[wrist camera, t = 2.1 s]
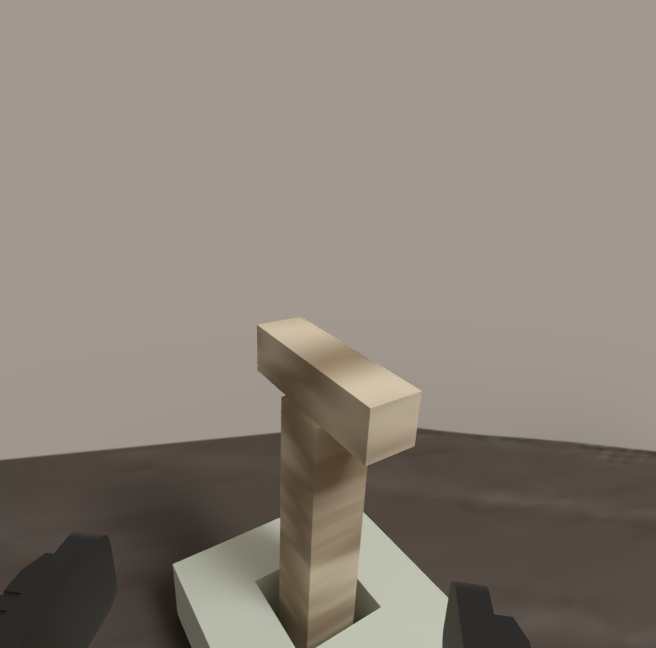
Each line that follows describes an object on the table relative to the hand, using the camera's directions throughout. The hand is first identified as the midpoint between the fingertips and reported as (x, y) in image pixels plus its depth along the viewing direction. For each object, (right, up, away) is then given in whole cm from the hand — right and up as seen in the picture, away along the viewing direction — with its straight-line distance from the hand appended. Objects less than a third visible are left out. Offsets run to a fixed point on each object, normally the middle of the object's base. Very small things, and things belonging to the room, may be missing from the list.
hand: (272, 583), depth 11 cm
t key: (0, -12, +17) cm, 21 cm away
